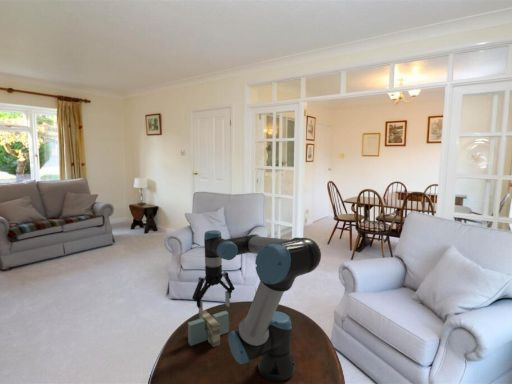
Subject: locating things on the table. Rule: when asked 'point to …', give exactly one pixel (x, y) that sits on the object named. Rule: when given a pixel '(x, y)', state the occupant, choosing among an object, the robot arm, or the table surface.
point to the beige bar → (211, 328)
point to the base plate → (200, 333)
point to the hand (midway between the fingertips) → (214, 309)
